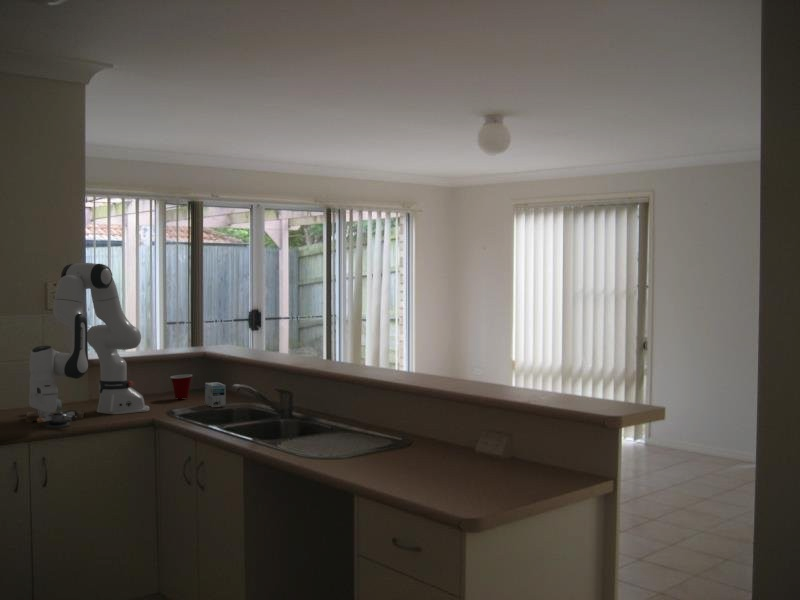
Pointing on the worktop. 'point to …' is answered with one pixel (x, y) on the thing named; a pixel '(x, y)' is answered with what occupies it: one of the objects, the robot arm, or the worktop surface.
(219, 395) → the light bulb box
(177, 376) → the plastic cup
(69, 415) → the capstan
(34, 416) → the level stand
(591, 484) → the worktop surface
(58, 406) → the air freshener
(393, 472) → the worktop surface
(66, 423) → the pedestal
